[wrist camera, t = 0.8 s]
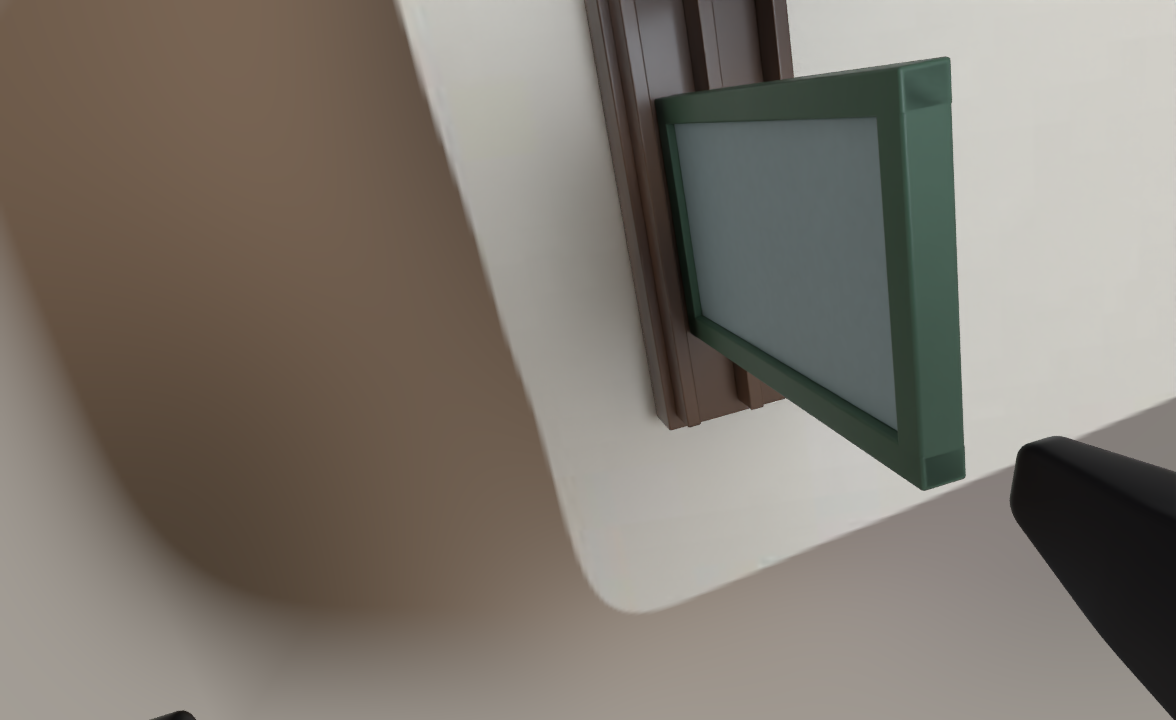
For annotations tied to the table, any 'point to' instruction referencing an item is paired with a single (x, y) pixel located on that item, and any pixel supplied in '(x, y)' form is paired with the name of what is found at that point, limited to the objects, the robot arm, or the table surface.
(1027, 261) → the table surface
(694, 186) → the sash
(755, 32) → the frame display rack
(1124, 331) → the table surface
